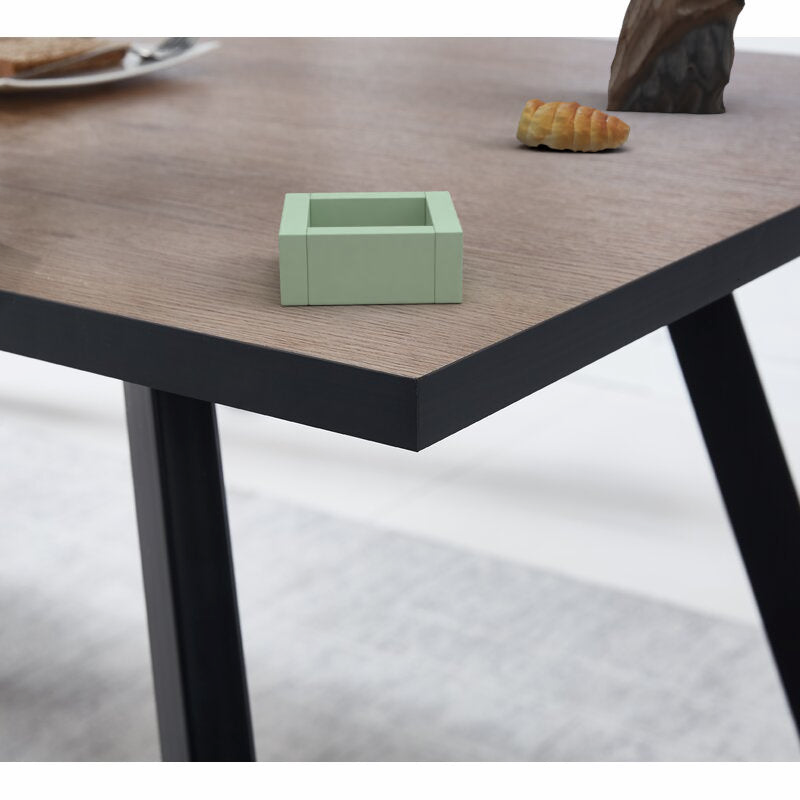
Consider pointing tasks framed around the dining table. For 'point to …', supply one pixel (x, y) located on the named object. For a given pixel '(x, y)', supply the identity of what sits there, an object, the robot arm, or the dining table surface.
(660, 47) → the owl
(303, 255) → the socket
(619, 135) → the pastry
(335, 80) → the dining table surface
